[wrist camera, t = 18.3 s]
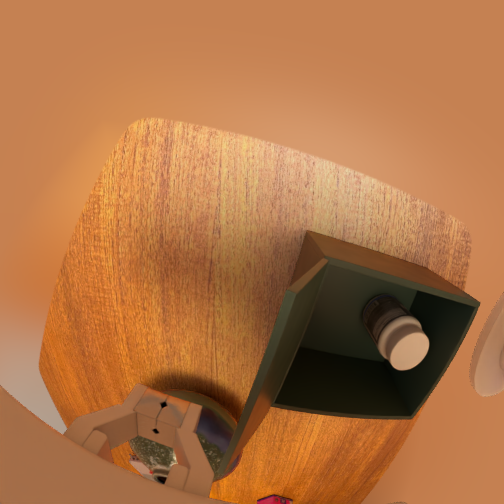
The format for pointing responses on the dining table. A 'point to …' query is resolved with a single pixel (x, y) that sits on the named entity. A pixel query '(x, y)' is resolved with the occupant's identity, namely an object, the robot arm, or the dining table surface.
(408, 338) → the pill bottle
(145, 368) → the dining table surface
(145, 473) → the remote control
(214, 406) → the vase
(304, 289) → the dark green box lid
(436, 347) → the open box
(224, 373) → the dining table surface
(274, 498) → the supplement box
